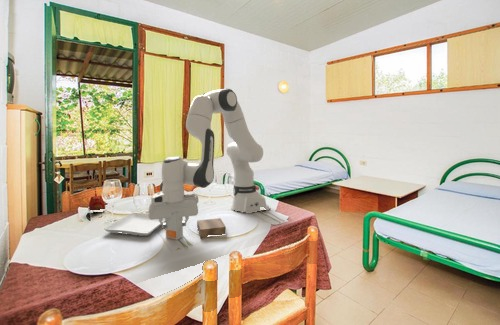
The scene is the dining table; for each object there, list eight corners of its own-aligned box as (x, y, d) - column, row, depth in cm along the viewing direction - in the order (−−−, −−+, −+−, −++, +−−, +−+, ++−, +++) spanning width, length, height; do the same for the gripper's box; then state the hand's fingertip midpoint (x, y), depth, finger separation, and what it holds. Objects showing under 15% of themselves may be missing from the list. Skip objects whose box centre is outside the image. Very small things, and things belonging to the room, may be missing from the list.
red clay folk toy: (90, 215, 136) (88, 187, 134) (88, 211, 141) (86, 184, 139) (106, 212, 140) (105, 185, 138) (104, 208, 146) (102, 183, 144)
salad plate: (147, 240, 108) (147, 232, 108) (103, 235, 112) (102, 228, 111) (171, 222, 129) (171, 215, 128) (133, 218, 132) (132, 212, 132)
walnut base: (220, 226, 124) (220, 218, 123) (225, 235, 113) (225, 226, 113) (197, 228, 120) (197, 220, 120) (200, 238, 110) (200, 229, 109)
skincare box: (165, 237, 110) (164, 210, 108) (171, 234, 114) (171, 207, 112) (177, 240, 108) (176, 212, 106) (183, 236, 112) (182, 209, 110)
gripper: (197, 192, 114) (197, 221, 116) (148, 195, 108) (149, 226, 110) (199, 195, 109) (199, 226, 111) (147, 199, 102) (148, 232, 104)
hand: (174, 226), depth 110 cm, fingers closed on skincare box, 7 cm apart
